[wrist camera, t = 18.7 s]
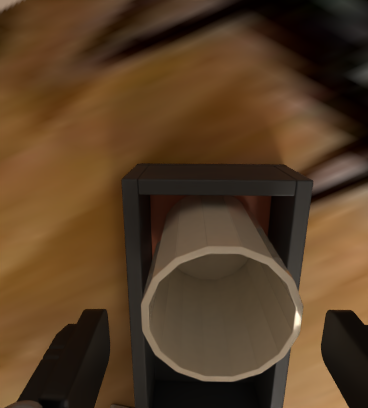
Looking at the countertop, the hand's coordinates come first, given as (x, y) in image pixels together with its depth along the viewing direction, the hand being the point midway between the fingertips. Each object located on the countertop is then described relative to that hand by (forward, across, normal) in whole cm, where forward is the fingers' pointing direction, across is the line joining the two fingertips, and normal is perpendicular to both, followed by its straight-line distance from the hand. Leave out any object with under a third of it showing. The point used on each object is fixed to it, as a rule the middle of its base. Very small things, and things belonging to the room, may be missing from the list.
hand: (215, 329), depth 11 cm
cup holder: (+9, 0, +4) cm, 10 cm away
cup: (+9, 0, 0) cm, 9 cm away
